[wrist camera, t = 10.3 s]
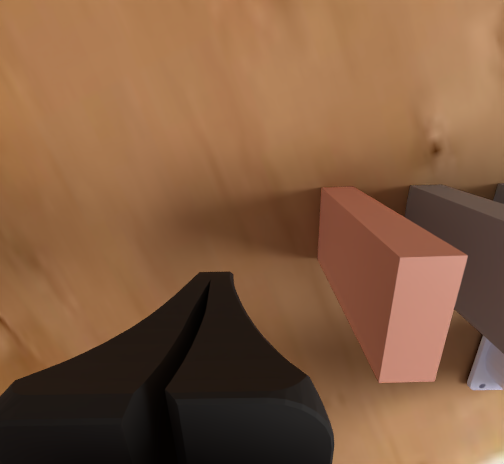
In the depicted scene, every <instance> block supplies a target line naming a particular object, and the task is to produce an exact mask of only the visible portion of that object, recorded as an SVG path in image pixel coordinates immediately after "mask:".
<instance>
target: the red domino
mask: <svg viewBox="0 0 504 464" xmlns="http://www.w3.org/2000/svg"><path fill="white" fill-rule="evenodd" d="M467 258H468V255H467V254H465V253H463V252H462V251H460V250H458V249H457V248H455V247H453V246H452V245H450V244H448V243H447V242H445V241H443V240H442V239H440V238H438V237H437V236H435V235H433V234H432V233H430V232H428V231H427V230H425V229H423V228H422V227H420V226H418V225H417V224H415V223H413V222H412V221H410V220H408V219H407V218H405V217H403V216H402V215H400V214H398V213H397V212H395V211H393V210H392V209H390V208H388V207H387V206H385V205H383V204H382V203H380V202H378V201H377V200H375V199H373V198H372V197H370V196H368V195H367V194H365V193H363V192H362V191H360V190H358V189H357V188H355V187H353V186H351V187H321V203H320V222H319V240H318V258H317V259H318V261H319V263H320V265H321V267H322V269H323V271H324V273H325V275H326V277H327V279H328V281H329V283H330V285H331V287H332V289H333V291H334V293H335V295H336V298H337V300H338V302H339V304H340V306H341V308H342V310H343V312H344V314H345V316H346V318H347V320H348V322H349V324H350V326H351V328H352V330H353V332H354V334H355V336H356V338H357V340H358V342H359V344H360V346H361V348H362V350H363V352H364V354H365V356H366V358H367V360H368V362H369V364H370V366H371V368H372V370H373V372H374V374H375V376H376V378H377V380H378V382H379V383H394V382H430V381H435V378H436V375H437V371H438V367H439V363H440V360H441V356H442V352H443V348H444V344H445V341H446V337H447V333H448V329H449V326H450V322H451V318H452V314H453V311H454V307H455V303H456V299H457V296H458V292H459V288H460V284H461V281H462V277H463V273H464V269H465V265H466V262H467Z"/></svg>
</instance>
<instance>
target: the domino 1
mask: <svg viewBox="0 0 504 464" xmlns="http://www.w3.org/2000/svg"><path fill="white" fill-rule="evenodd" d="M405 218H407V219H408V220H410V221H412V222H413V223H415V224H417V225H418V226H420V227H422V228H423V229H425V230H427V231H428V232H430V233H432V234H433V235H435V236H437V237H438V238H440V239H442V240H443V241H445V242H447V243H448V244H450V245H452V246H453V247H455V248H457V249H458V250H460V251H462V252H463V253H465V254H467V255H468V258H467V262H466V265H465V269H464V273H463V277H462V281H461V284H460V288H459V292H458V296H457V299H456V303H455V307H454V309H455V310H456V311H457V312H458V313H459V314H460V315H461V316H462V317H464V318H465V319H466V320H467V321H468V322H469V323H470V324H471V325H472V326H474V327H475V328H476V329H477V330H478V331H479V332H480V333H481V334H482V335H483V336H485V337H486V338H487V339H488V340H489V341H490V342H491V343H492V344H493V345H494V346H496V347H497V348H498V349H499V350H500V351H501V352H502V353H503V354H504V204H502V203H499V202H496V201H493V200H489V199H486V198H483V197H480V196H477V195H473V194H470V193H467V192H464V191H461V190H457V189H454V188H451V187H448V186H445V185H410V189H409V194H408V200H407V206H406V211H405Z"/></svg>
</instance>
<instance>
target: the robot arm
mask: <svg viewBox="0 0 504 464" xmlns="http://www.w3.org/2000/svg"><path fill="white" fill-rule="evenodd" d="M467 385H468V387H469V388H470V389H472V390H504V354H503V353H502V352H501V351H500V350H499V349H498V348H497V347H496V346H494V345H493V344H492V343H491V342H490V341H489V340H488V339H487V338H486V337H485V336H483V337H482V340H481V343H480V346H479V349H478V352H477V355H476V358H475V361H474V363H473V366H472V369H471V372H470V375H469V378H468V381H467ZM333 451H334V435H333V430H332V427H331V423H330V421H329V418H328V415H327V413H326V410H325V408H324V405H323V403H322V401H321V399H320V397H319V394H318V392H317V390H316V389H315V387H314V385H313V383H312V381H311V379H310V377H309V376H308V375H306V374H305V373H304V372H302V371H301V370H300V369H298V368H297V367H296V366H294V365H293V364H292V363H290V362H289V361H287V360H286V359H285V358H284V357H283V356H282V355H281V354H280V353H279V352H278V351H277V350H276V349H275V348H274V347H273V346H272V345H271V344H270V343H269V342H268V341H267V340H266V339H265V338H264V337H263V335H262V334H261V333H260V332H259V330H258V329H257V328H256V326H255V325H254V324H253V322H252V321H251V319H250V318H249V316H248V315H247V313H246V311H245V309H244V307H243V306H242V304H241V302H240V299H239V297H238V295H237V292H236V290H235V286H234V280H233V274H232V273H231V272H199V273H198V274H197V275H196V276H195V277H194V278H193V279H192V280H191V281H190V282H189V283H188V284H187V285H186V286H184V287H183V288H182V289H181V290H180V291H179V292H178V293H177V294H176V295H175V296H174V297H172V298H171V299H170V300H169V301H167V302H166V303H165V304H164V305H163V306H161V307H160V308H159V309H158V310H156V311H155V312H154V313H152V314H151V315H150V316H148V317H147V318H145V319H144V320H142V321H141V322H139V323H138V324H136V325H135V326H133V327H132V328H130V329H128V330H127V331H125V332H123V333H121V334H119V335H118V336H116V337H114V338H112V339H111V340H109V341H107V342H105V343H103V344H101V345H99V346H97V347H95V348H93V349H91V350H89V351H87V352H85V353H83V354H80V355H78V356H76V357H74V358H72V359H69V360H67V361H65V362H62V363H60V364H57V365H55V366H52V367H50V368H47V369H44V370H42V371H39V372H37V373H34V374H31V375H29V376H26V377H23V378H21V379H18V380H15V381H14V382H13V383H12V384H11V385H10V386H9V387H8V389H7V390H6V391H5V392H4V393H3V394H2V395H1V396H0V464H332V459H333Z"/></svg>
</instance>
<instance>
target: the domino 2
mask: <svg viewBox="0 0 504 464" xmlns="http://www.w3.org/2000/svg"><path fill="white" fill-rule="evenodd" d="M493 201H496V202H499V203H502V204H504V183H501V184H498V186H497V189H496V193H495V196H494V199H493Z"/></svg>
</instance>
